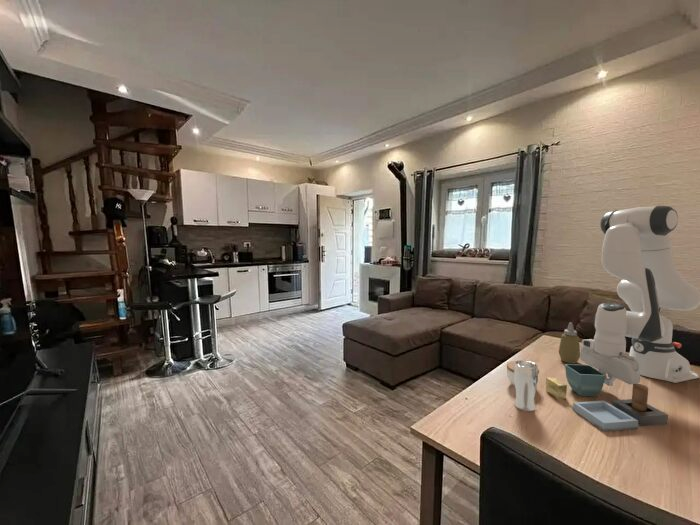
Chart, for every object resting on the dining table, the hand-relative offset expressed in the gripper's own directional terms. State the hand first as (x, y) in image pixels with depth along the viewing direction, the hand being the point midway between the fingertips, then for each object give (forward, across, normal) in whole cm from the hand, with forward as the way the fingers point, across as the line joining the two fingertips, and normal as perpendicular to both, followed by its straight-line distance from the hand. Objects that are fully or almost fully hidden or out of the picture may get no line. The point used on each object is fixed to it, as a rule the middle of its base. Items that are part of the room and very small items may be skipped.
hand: (606, 384), depth 110 cm
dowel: (+3, -15, +4) cm, 16 cm away
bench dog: (+3, 0, +20) cm, 20 cm away
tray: (+3, -15, +16) cm, 22 cm away
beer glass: (+3, -6, +36) cm, 37 cm away
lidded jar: (+3, +7, +28) cm, 29 cm away
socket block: (+3, -15, +4) cm, 16 cm away
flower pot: (+3, 0, +9) cm, 10 cm away
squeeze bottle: (+3, +26, -8) cm, 27 cm away
